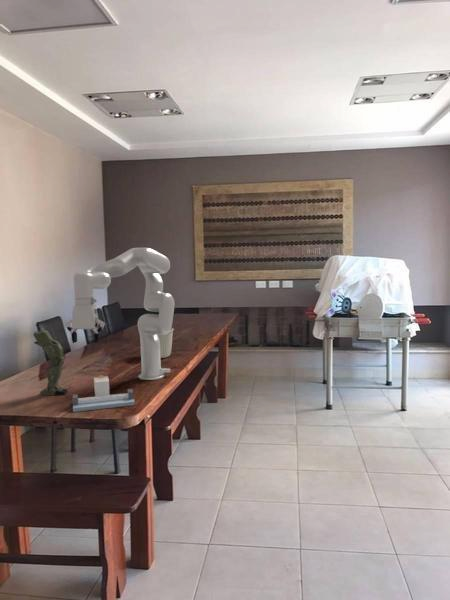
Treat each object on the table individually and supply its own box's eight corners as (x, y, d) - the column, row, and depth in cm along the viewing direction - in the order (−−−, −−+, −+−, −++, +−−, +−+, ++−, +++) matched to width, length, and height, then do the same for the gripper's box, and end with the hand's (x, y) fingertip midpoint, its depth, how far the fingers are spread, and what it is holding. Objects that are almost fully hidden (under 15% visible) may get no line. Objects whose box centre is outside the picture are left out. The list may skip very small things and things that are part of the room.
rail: (132, 395, 202) (132, 388, 202) (133, 399, 197) (133, 391, 197) (73, 401, 195) (72, 394, 195) (72, 405, 190) (72, 398, 190)
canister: (177, 353, 293) (176, 319, 291) (171, 360, 275) (170, 324, 273) (148, 353, 295) (147, 319, 293) (140, 360, 277) (139, 324, 275)
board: (131, 396, 206) (131, 393, 205) (134, 405, 194) (134, 401, 194) (73, 403, 199) (73, 399, 198) (73, 411, 187) (72, 408, 187)
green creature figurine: (76, 388, 217) (57, 325, 214) (72, 393, 210) (52, 328, 207) (47, 396, 217) (27, 333, 214) (41, 401, 210) (21, 336, 207)
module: (108, 391, 215) (107, 374, 214) (109, 396, 207) (108, 379, 206) (94, 392, 213) (93, 375, 212) (95, 398, 205) (94, 380, 204)
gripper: (107, 301, 203) (108, 341, 204) (68, 301, 205) (70, 340, 206) (100, 302, 195) (101, 344, 197) (60, 303, 197) (62, 343, 199)
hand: (85, 342), depth 201 cm, fingers open, 9 cm apart
